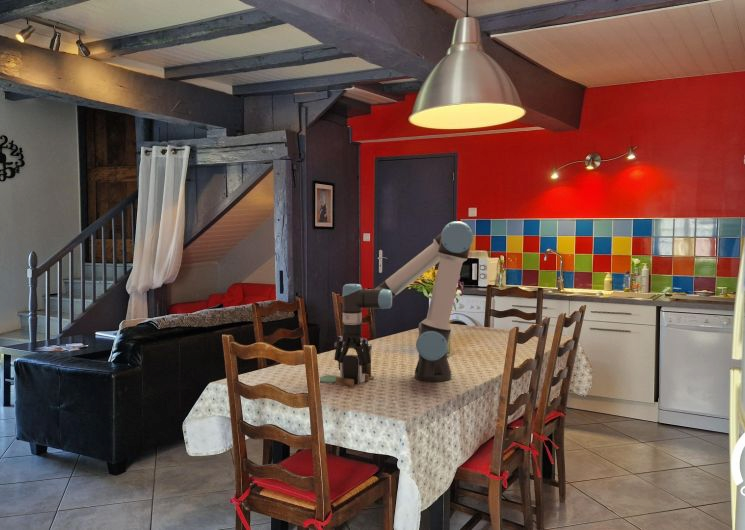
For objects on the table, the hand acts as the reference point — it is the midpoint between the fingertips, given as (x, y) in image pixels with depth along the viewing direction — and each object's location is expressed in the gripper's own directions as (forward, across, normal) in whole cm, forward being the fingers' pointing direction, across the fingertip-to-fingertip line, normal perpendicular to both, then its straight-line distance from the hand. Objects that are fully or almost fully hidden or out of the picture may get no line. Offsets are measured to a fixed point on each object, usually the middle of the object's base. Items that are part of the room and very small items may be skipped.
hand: (352, 380), depth 252 cm
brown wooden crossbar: (-11, -7, +10) cm, 16 cm away
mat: (+1, -11, 0) cm, 11 cm away
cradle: (+1, 0, +4) cm, 4 cm away
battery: (+2, 0, 0) cm, 2 cm away
